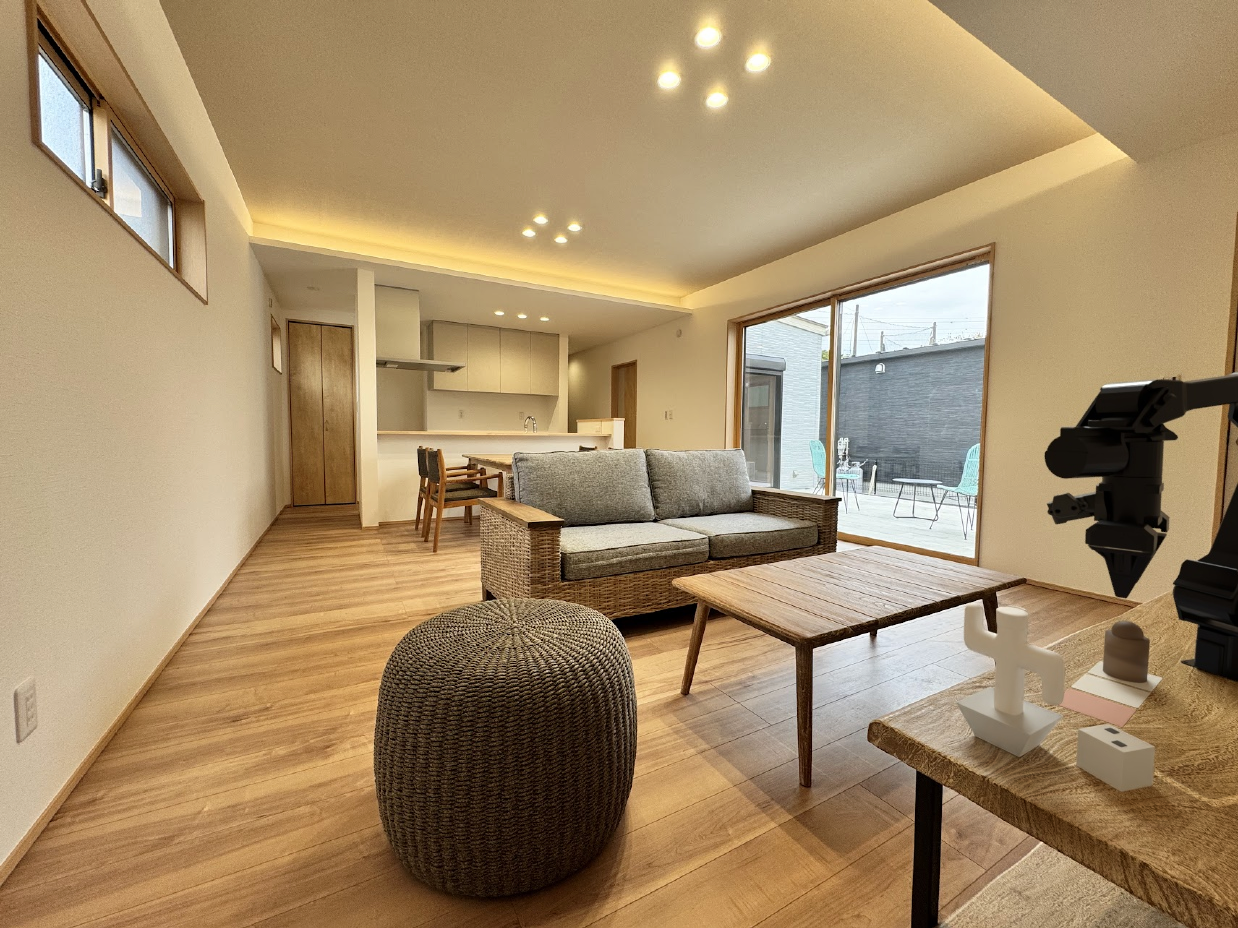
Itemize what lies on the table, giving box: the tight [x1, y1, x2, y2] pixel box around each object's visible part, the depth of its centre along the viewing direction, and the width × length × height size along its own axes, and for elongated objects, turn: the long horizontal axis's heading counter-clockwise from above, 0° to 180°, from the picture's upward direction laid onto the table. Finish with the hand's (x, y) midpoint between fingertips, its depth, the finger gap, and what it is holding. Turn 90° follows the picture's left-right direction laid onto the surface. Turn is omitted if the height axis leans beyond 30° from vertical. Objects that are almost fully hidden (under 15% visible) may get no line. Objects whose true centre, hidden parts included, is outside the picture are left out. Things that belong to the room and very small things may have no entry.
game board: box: [1058, 660, 1164, 728], centre depth 68 cm, size 22×8×1 cm, turn 125°
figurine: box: [955, 602, 1066, 758], centre depth 57 cm, size 7×9×15 cm
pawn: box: [1102, 620, 1151, 683], centre depth 71 cm, size 4×4×8 cm
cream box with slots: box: [1075, 723, 1156, 792], centre depth 52 cm, size 4×4×4 cm
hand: (1126, 589), depth 70 cm, fingers open, 9 cm apart
